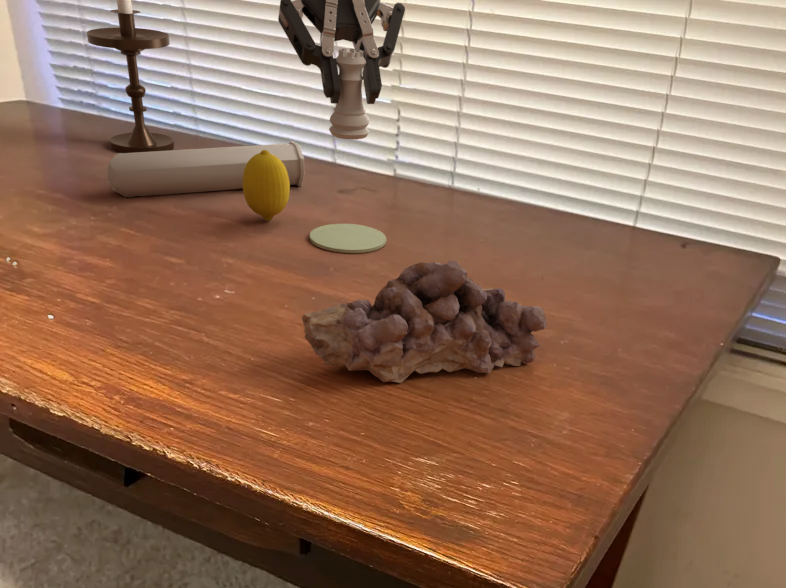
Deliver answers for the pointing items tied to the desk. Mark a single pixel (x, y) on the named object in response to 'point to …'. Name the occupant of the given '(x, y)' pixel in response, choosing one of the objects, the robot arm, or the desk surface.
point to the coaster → (347, 238)
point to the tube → (195, 169)
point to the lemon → (266, 184)
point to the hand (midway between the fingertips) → (354, 98)
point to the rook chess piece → (350, 98)
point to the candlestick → (133, 76)
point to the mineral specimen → (426, 326)
